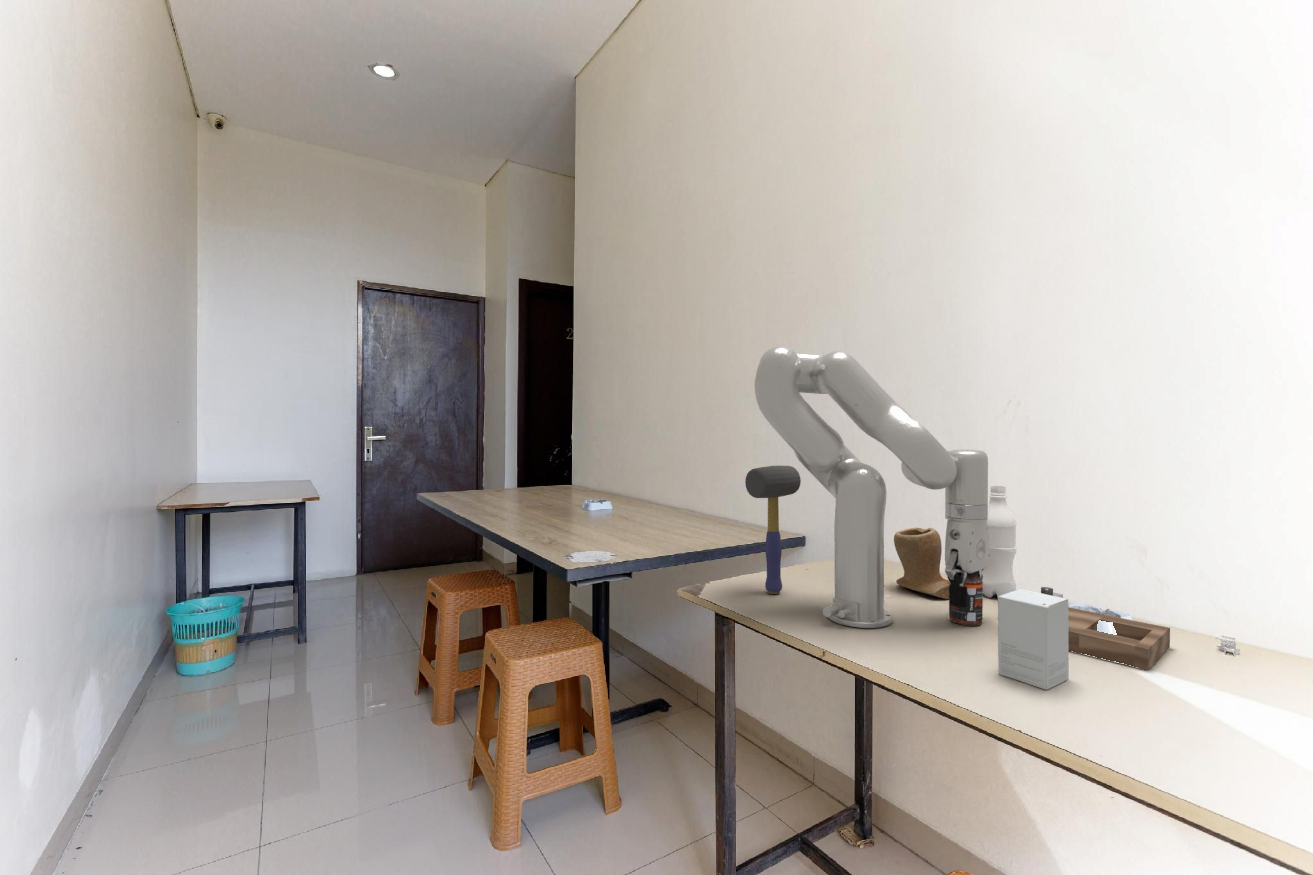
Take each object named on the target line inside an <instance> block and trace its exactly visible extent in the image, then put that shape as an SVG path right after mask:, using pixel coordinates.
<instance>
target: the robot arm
mask: <svg viewBox="0 0 1313 875" xmlns="http://www.w3.org/2000/svg"><path fill="white" fill-rule="evenodd" d="M801 393H803V394H815V395H816V394H818V395H829V396H830V398H831V399H832V400H833V401H834V402H835V403H836V404H837V405H838V406H839V408H840V409H842V410H843V412H845V414H846V415H847V416H848V417H849V418H850V419H851V420H852V421H853V423H854V424H855V425H856V426H857V427H858V428H859V429H860V430H862V432H863V433H865V434H866V435H868V437H870V438H872V439H874V440H875V441H878V442H879V443H880V444H882V445H883V446H884V447H886V448H887V449H888V450H889V451H890V452H892V453H893V455H894V456H896V458H897V459H898V460H899V461H900V462H901V464H900V465H901V467H900V468H901V472H902V474H903V476H904V477H905V479H907V480H908V481H909V482H911V483H913V484H914V485H917V486H919V487H924V488H926V489H929V490H942V489H945V490H944V499H945V500H944V501H945V502H944V512H945V513H944V514H945V515H944V518H945V520H947V521H946V529H945V539H944V540H945V541H944V544H945V545H944V566H945V568H944V573H945V574H946V577H947V580H948V584H949V599H948V604H949V603H950V604H951V605H955V606H959V607H964V608H965V607H967V587H965V583H966V577H967V573H974V572H976V571H977V572H978V573H977V575H978V577H980V578H981V579H983V573H982V571H983V570H984V568H986V567H988V566H989V564H990V548H989V532H988V525H987V521H988V504H989V458H988V454H987V453H986V452H985V451H983V450H978V449H952V450H947V449H946V448H945V447H944V446H943V445H942V444H941V442H939V440H937V438H936V437H935V436H934V435H933V434H932V433H931V431H929V430H928V429H927V428H925V426H924V425H923V424H922V423H920V422H919V421H918V420H917V419H916V418H915V417H913V416H912V415H911V414H910V413H909V412H908V411H907V410H905V408H903V407H902V406H901V405H900V404H899V403H898V402H896V400H894V399H893V397H891V396H890V395H889V394H888V393H887V392H886V390H885V389H884V388H883V387H882V386H881V385H880V384H879V383H878V382H877V381H876V379H874V378H873V377H872V376H871V374H870V373H869V372H868V371H867V370H866V369H865V368H864V367H863V366H862V364H860V363H859V361H857V360H856V358H855V357H853V356H852V355H851V354H849V353H848V352H846V351H843V350H834V351H831V352H829V353H826V354H825V355H824V354H804V353H797V352H795V351H794V349H792V348H790V347H788V346H784V345H777V346H773V347H771V348H769V349H767V351H765V352H764V353H763V355H762V356H761V357H760V360H759V363H758V366H757V369H756V373H755V377H754V395H755V399H756V403H757V406H758V408H759V410H760V412H761V414H762V415H763V417H764V418H765V420H766V421H767V422H768V423H769V425H770V426H771V427H772V428H773V430H775V431H776V433H778V436H780V437H781V438H782V439H783V441H784V442H786V445H787V444H788V446H789V447H790V448H791V449H792V450H793V452H794V455H795V457H796V459H797V460H798V461H799V463H800V464H802V465H803V467H804V468H805V469H806V470H807V471H808V472H809V473H810V474H811V475H812V476H813V477H814V478H815V479H816V480H817V481H818V482H819V483H820V484H821V485H822V486H823V488H825V489H826V490H827V491H828V492H829V493H830V495H832V497H833V498H834V499H835V509H834V524H833V525H834V529H833V532H834V533H833V538H834V540H833V541H834V597H832V603H831V605H829V606H826V607H825V606H824V607H823V609H822V614H823V616H824V617H825V618H828V619H829V620H831V621H832V622H834V623H837V624H839V625H843V626H847V627H851V628H862V629H876V628H877V629H878V628H883V627H886V626H887V627H888V626H889V625H890V624H891V623H892V622H893V615H892V613H891V612H890V611H888V610H886V609H885V608H884V606H885V593H884V592H885V569H884V568H885V545H884V544H885V543H884V538H885V534H884V533H885V532H884V531H885V515H886V514H885V512H886V504H887V493H888V492H887V486H886V482H885V480H884V478H883V476H882V474H881V473H880V472H879V471H878V470H877V469H876V468H875V467H873V466H871V465H868V464H867V463H865V462H864V463H863V462H862V461H861V460H860V459H859V458H858V457H857V456H856V455H855V454H854V453H853V452H852V451H851V450H850V448H848V447H847V446H846V445H845V442H844V441H843V438H842V436H841V435H840V433H839V432H838V431H837V430H835V429H834V428H833V427H832V426H831V425H829V424H828V423H827V422H826V420H824V419H823V418H822V417H821V416H820V415H819V414H818V413H817V411H815V410H814V408H813V407H811V405H810V404H809V403H808V402H807V401H806V400H805V399H804V397H803V396H802V394H801ZM956 567H962V569H963V570H959V569H955V568H956ZM956 573H960V574H961V579H960V577H959V575H958V574H956Z"/></svg>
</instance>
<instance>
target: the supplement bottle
mask: <svg viewBox="0 0 1313 875" xmlns="http://www.w3.org/2000/svg"><path fill="white" fill-rule="evenodd" d="M955 569H959V570H963V569H962V567H956V568H955ZM977 573H978V572H977V571H976V572H974V573H967V577H966V583H965V587H967V607H965V608H964V607H959V606H955V605H951V604H950V603H949V602H948V617H949V620H950V621H951V622H953V623H955V624H958V625H963V626H968V627H975V626H976V627H977V626H979V625H981V624H982V623H983V616H984V615H983V605H984V603H983V600H984V599H983V598H984V596H983V595H984V593H983V581H982V579H981V578H980V577H978V575H977ZM956 574H958V575H959V577H960V579H961V574H960V573H956Z"/></svg>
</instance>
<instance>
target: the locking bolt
mask: <svg viewBox="0 0 1313 875" xmlns="http://www.w3.org/2000/svg"><path fill="white" fill-rule="evenodd" d="M1040 593H1042V594H1047V595H1051V596H1056V597H1061V598H1064V594H1063V593H1058V592H1054V589H1053V588H1052V587H1048V586H1041V587H1040Z"/></svg>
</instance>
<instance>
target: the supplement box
mask: <svg viewBox="0 0 1313 875" xmlns="http://www.w3.org/2000/svg"><path fill="white" fill-rule="evenodd" d="M1068 607H1069V599H1068V598H1067V597H1066V598H1065V597H1063V598H1061V597H1056V596H1051V595H1047V594H1042V593H1041V592H1036V591H1033V590H1027V589H1023V588H1019V589H1016V590H1015V591H1013V592H1010V593H1007V594H1004V595H1001V596H997V623H998V624H997V631H998V632H997V634H998V635H997V640H998V642H997V643H998V644H997V647H998V648H997V651H998V652H997V654H998V655H997V657H998V675H1001V676H1004V677H1006V678H1010V679H1013V680H1017V681H1019V682H1023V683H1025V684H1028V685H1030V686H1034V687H1037V688H1039V689H1042V690H1044V691H1045V690H1049V689H1052V688H1054V687H1055V686H1057V685H1060V684H1061V683H1064V682H1066V681H1067V680H1068V679H1069V673H1070V672H1069V667H1070V666H1069V665H1070V663H1069V651H1068Z"/></svg>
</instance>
